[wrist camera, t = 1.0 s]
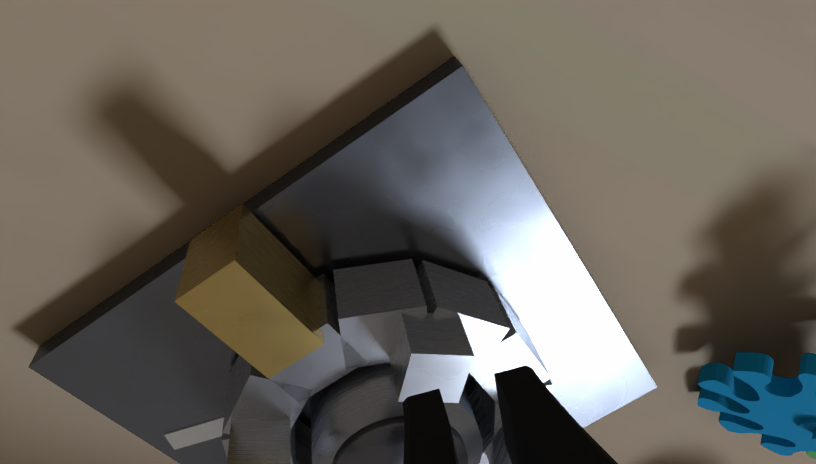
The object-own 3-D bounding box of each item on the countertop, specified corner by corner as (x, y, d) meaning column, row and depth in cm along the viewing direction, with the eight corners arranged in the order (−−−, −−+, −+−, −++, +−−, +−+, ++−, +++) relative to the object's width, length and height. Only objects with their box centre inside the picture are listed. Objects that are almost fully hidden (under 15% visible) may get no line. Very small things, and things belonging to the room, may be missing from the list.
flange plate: (336, 543, 29) (337, 564, 28) (39, 346, 20) (27, 368, 20) (645, 370, 26) (657, 387, 26) (454, 56, 18) (463, 66, 17)
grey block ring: (352, 513, 26) (361, 617, 22) (80, 317, 19) (29, 425, 15) (571, 389, 24) (620, 481, 21) (367, 116, 17) (388, 184, 13)
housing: (363, 429, 25) (379, 547, 21) (278, 355, 22) (275, 474, 18) (475, 363, 24) (515, 472, 20) (400, 277, 22) (428, 382, 17)
